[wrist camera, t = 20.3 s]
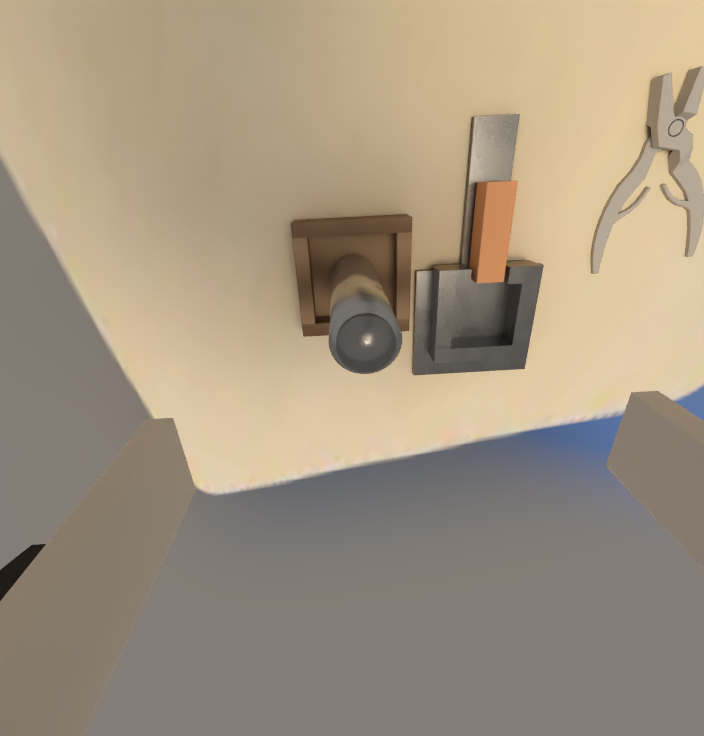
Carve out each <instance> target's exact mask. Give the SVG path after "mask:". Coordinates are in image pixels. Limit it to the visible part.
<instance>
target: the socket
mask: <svg viewBox="0 0 704 736" xmlns="http://www.w3.org/2000/svg"><path fill="white" fill-rule="evenodd" d="M519 115H520V114H514V115H494V116H474V117H472V125H471V137H470V149H469V161H468V173H467V185H466V197H465V209H464V221H463V233H462V244H461V256H460V264H450V265H433V269H431V270H416V278H415V309H414V341H413V372H412V373H413V375H426V374H443V373H460V372H478V371H495V370H512V369H525V363H526V358H527V352H528V347H529V342H530V336H531V331H532V325H533V320H534V314H535V309H536V304H537V298H538V293H539V287H540V282H541V276H542V271H543V266H544V265H543V264H537V263H534V262H532V261H529V260H524V261H507V262H506V269H505V276H504V282H493V283H475V282H474V281H473V280H471V272H472V269H470V268H469V262H470V252H471V241H472V231H473V220H474V210H475V199H476V189H477V182H493V181H511V176H512V168H513V160H514V153H515V145H516V138H517V130H518V122H519Z"/></svg>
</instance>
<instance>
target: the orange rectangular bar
mask: <svg viewBox="0 0 704 736" xmlns="http://www.w3.org/2000/svg"><path fill="white" fill-rule="evenodd" d="M517 182H518V181H493V182H477V189H476V199H475V210H474V220H473V231H472V241H471V252H470V262H469V268H470V269H472V272H471V280H473V281H474V282H475V283H493V282H504V276H505V269H506V262H507V254H508V247H509V240H510V233H511V226H512V218H513V211H514V204H515V197H516V190H517Z"/></svg>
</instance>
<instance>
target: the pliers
mask: <svg viewBox="0 0 704 736" xmlns="http://www.w3.org/2000/svg"><path fill="white" fill-rule="evenodd" d="M703 88H704V67H702V66H701V67H698V68H695V69H692V70H689V71H688V73H687V76H686V78H685V81H684V83H683V86H682V88H681V91H680V93H679V96H678V98H677V101H676V104H675V106H674V108H673V87H672V72H671V73H668V74H665V75H662V76H659V77H657V78H655V79H653V80H651V85H650V95H649V104H648V113H647V122H646V125H647V126H649V127H651V137H650V138H649V139H648V140H647V141H646V142H645V143H644V145H643V148H642V150H641V153H640V156H639V158H638V159H637V161H636V162H635V164H634V166H633V167H632V169H631V170H630V172H629V173H628V174H627V175H626V176H625V177H624V178H623V179H622V181H621V182H620V183H619V184H618V185H617V186H616V188H615V190H614V191H613V193H612V194H611V196H610V197H609V199H608V201H607V203H606V205H605V207H604V209H603V211H602V214H601V216H600V219H599V221H598V224H597V227H596V230H595V234H594V238H593V242H592V249H591V273H592V274H596V273H599V268H600V263H601V260H602V256H603V252H604V248H605V245H606V242H607V239H608V236H609V234H610V231H611V229H612V226H613V224H614V223H615V222H617V221H618V220H619V219H620V218H622V217H624V216H625V215H627V214H629V213H630V212H631V211H632V210H633V209H635V208H636V207H637V206H638V205H639V204H640V202H641V201H642V200H643V199H644V197H645V196H646V194H647V193H648V192H649V190H650V189H651V188H650V187H645V188H644V190H643V191H642V193H641V194H640V195H639V197H638V198H637V199H636V200H635V201H634V203H633V204H631V205H630V206H629V207H628V208H626V209H625V210H623V211H621V212H619V211H620V210H621V208H622V206H623V204H624V203H625V202H626V200H627V199H628V198H629V197H630V195H631V194H632V193H633V192H634V191H635V189H636V188H637V187H638V186H639V185H640V184H641V183H642V181H643V180H644V179H645V178H646V176H647V173H648V171H649V168H650V166H651V163H652V160H653V158H654V155H655V154H656V153H658V152H660V151H662V150H664V149H666V150H672V153H671V154H670V155H669V157H668V164H669V173H670V175H671V176H672V177H673V179H674V180H675V181H676V183H677V184H678V185H679V187H680V188H681V190H682V192H683V194H684V198H685V201H681V200H678V199H677V198H675V197H673V196H672V194H671V193H670V191H669V190H668V187H667V185H666V184H661V185H660V187H661V190H662V192H663V194H664V195H665V197H666V198H667V200H669V201H670V202H671V203H673V204H675V205H678V206H681V207H683V208H684V209H686V210H687V240H686V249H685V257H691V256H693V254H694V252H695V249H696V246H697V244H698V241H699V238H700V234H701V230H702V225H703V218H704V193H703V187H702V182H701V179H700V177H699V174H698V172H697V170H696V169H695V168H694V166H693V165H692V164H691V163H690V161H689V158H690V155H691V152H692V149H693V134H692V133H691V132H690V131H689V130H688V129H687V128H686V122H687V120H688V119H690V118H691V117H693V116H694V115H696V114H697V112H698V108H699V104H700V100H701V96H702V92H703Z"/></svg>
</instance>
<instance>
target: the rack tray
mask: <svg viewBox="0 0 704 736" xmlns="http://www.w3.org/2000/svg"><path fill="white" fill-rule="evenodd" d="M291 229H292V238H293V247H294V256H295V265H296V274H297V283H298V292H299V301H300V310H301V319H302V328H303V336H322V335H329V325H330V305H331V284H332V271H333V267H334V265H335V263H336V262H337V261H338V260H339V259H340V258H341V257H343V256H345V255H347V254H360V255H362V256H364V257H366V258H367V259H368V260H369V261H370V262H371V263H372V265H373V267H374V270H375V272H376V274H377V276H378V279H379V281H380V283H381V285H382V288H383V290H384V292H385V294H386V297H387V299H388V301H389V304H390V306H391V308H392V310H393V313H394V315H395V317H396V319H397V322H398V324H399V326H400V329H401V331H409V319H410V280H411V241H412V217H411V216H409V215H407V214H402V215H383V216H364V217H345V218H326V219H306V220H294V221H293V222H292V223H291Z"/></svg>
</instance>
